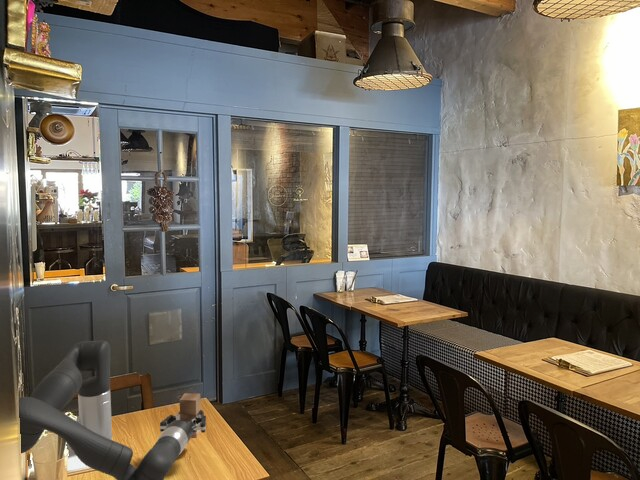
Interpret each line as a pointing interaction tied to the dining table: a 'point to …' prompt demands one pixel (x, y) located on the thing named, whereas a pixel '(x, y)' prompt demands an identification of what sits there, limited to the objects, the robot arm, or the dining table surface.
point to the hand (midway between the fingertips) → (192, 412)
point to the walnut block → (190, 408)
